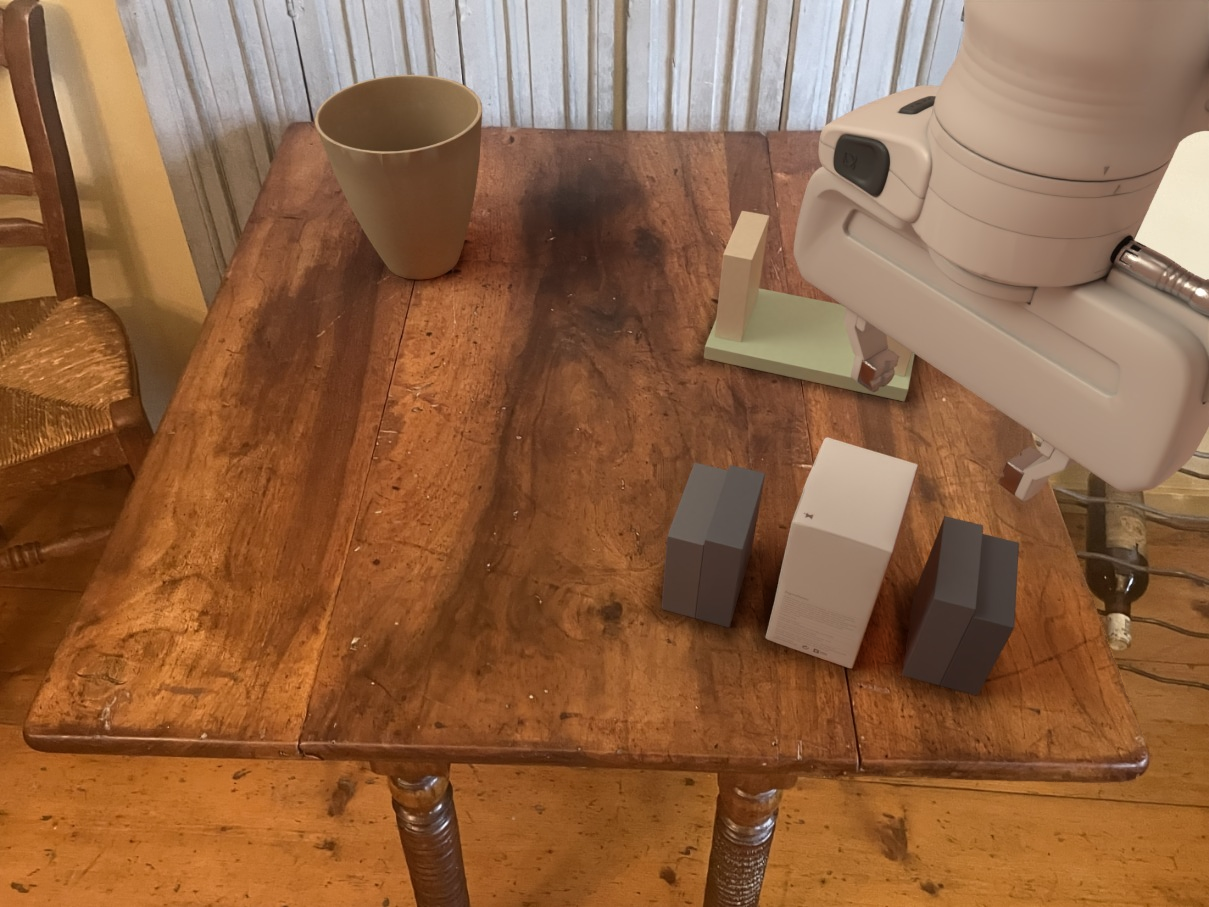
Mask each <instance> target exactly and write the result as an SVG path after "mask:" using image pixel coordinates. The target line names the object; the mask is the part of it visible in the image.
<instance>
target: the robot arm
mask: <svg viewBox="0 0 1209 907" xmlns="http://www.w3.org/2000/svg"><path fill="white" fill-rule="evenodd" d="M963 14H964V16H963V17H964V19H963V20H964V21H963V31H962V37H961V41H960V44H959V49H958V50H957V54H956V56H955V57H954V60H953V62H952V64H951V65H950V67H949V68H948V70H947V71H946V73H945V75H944V77H943V79H942V81H941V82H940V84H939V85H933V84H932V85H928V84H923V85H917V86H914V87H909V88H907V89H903V90H900V91H897V92H894V93H892V94H891V93H890V94H889V95H886V96H883V97H880V98H878V99H875V100H873V101H871V102H868V103H866V104H864V105H861V106H859V107H857V108H855V109H853V110H851V111H848V112H847V113H845V114H843V115H841V116H839V117H837V118H836V119H834V120H832V121H830V122H829V123H827V124H825V125H824V126H823V128H822V129H821V132H820V134H819V141H818V150H817V151H818V152H817V154H818V155H817V156H818V160H819V162H820V165H821V166H820V167H819V168H817V169H816V170H815V171H814V172H813V174H812V175H811V177H809V180H808V182H807V185H806V188H805V191H804V194H803V197H802V201H801V205H800V210H799V213H798V218H797V223H796V227H795V234H794V240H793V250H792V252H793V253H792V254H793V258H794V262H795V264H796V266H797V269H798V272H799V274H800V276H801V277H802V279H803V280H804V281H805V282H806V283H808V284H810V285H812V287H814V288H816V289H818V290H819V291H821V292H822V293H823V294H824V295H826V296H828V297H829V298H831V299H832V300H834V301H835V302H837V304H841V305H843V306H844V307H846V311H845V316H844V323H845V326H846V329H847V333H848V336H849V340H850V343H851V346H852V350H853V353H854V354H855V359H854V363H853V367H852V371H851V378H852V379H854V380H855V381H857V382H858V383H859V384H861V385H862V386H864V387H865V388H867V389H868V390H869V391H871V392H876V391H878V389H879V387H884V386H886V385H887V384H889V382H890V381H891V380H892V379H893V377H894V374H895V371H894V367H896V366H897V364H898V360H899V356H898V355H897V354H896V353H894V352H893V351H891V350H890V349H889V348H888V343H887V337H886V335H887V336H889V337H890V338H892V339H893V340H895V341H896V342H898V343H899V344H901V345H902V346H904V347H905V348H907V349H908V350H910V351H911V352H913V353H914V354H915V356H916V357H919V358H920V359H922V360H923V361H925V362H926V363H928V364H929V365H931V366H932V367H934V368H935V369H936V370H938V371H939V372H941V373H943V375H945V376H947V377H949V378H950V379H951V380H952V381H955V382H956V383H958V384H959V385H960V386H962V387H964V388H965V389H967V390H968V391H969V392H971V393H972V394H973V395H975V396H976V397H978V398H980V399H981V400H983V401H984V402H986V403H987V404H988V405H990V406H992V407H993V408H994V409H996V410H998V411H999V412H1001V413H1002V414H1004V415H1005V416H1006V417H1008V418H1010V419H1011V420H1013V421H1014V422H1016V424H1019V425H1020V426H1022V427H1023V428H1024V429H1026V430H1028V431H1029V432H1030V433H1032V434H1033V435H1035V436H1036V437H1038V438H1039V439H1041V440H1042V442H1041V444H1040V446H1039V449H1037V448H1036V447H1034V446H1032V445H1031V444H1030V445H1028V446H1027V447H1026V448H1024V449H1023V450H1021V452H1020V453H1019V455H1018V454H1017V455H1014V456H1013V457H1011V458H1010V459H1009V460H1007V461H1006V464H1005V465H1004V468H1003V470H1002V473H1003V475H1001V476H1000V477H999V479H998V481H997V484H999V485H1000V486H1001V487H1002V488H1004V489H1005V490H1006V491H1008V492H1009V493H1010V494H1012V495H1014V496H1015V497H1016V498H1017V499H1019V500H1020V501H1022V502H1023V503H1026V502H1027V501H1028V500H1030V499H1032V498H1033V497H1034V496H1036V495H1037V494H1038V493H1039V492H1041V490H1042V489H1043V488H1044V487H1045V486H1046V484H1047V483H1048V481H1049V479H1050V477H1051V476H1052V475H1055V474H1058V473H1061V472H1065V470H1067V469H1068V468H1070V467H1071V466H1072V465H1073V464H1075V463H1076V464H1078V465H1079V466H1081V467H1083V468H1084V469H1086V470H1087V471H1089V473H1091V474H1092V475H1094V476H1096V477H1097V478H1099V479H1101V480H1102V481H1103V482H1105V483H1106V484H1107V485H1110V486H1111V487H1112V488H1114V489H1116V490H1117V491H1119V492H1121V493H1124V494H1133V493H1140V492H1145V491H1150V490H1154V489H1156V488H1158V487H1159V486H1161V485H1162V484H1164V483H1165V482H1166V481H1168V479H1170V478H1171V477H1172V476H1174V475H1175V474H1176V473H1177V472H1178V471H1179V470H1180V469H1182V468H1183V467H1185V465H1186V464H1187V463H1188V462H1189V461H1190V460H1191V459H1192V457H1194V454H1195V453H1196V452H1197V450H1198V449H1199V447H1200V445H1201V444H1202V441H1203V439H1204V438H1205V435H1206V434H1207V431H1208V429H1209V278H1207V279H1205V278H1203V277H1201V276H1199V275H1196V274H1195V273H1193V272H1191V271H1189V270H1188V269H1186V268H1185V267H1182V265H1180V264H1179V263H1178V262H1176V261H1175V260H1173V259H1171V258H1170V257H1167V256H1166V255H1164V254H1162V253H1161V252H1158V251H1157V250H1154V249H1153V248H1151V247H1149V246H1147V245H1145V244H1143V243H1141V242H1139V241H1137V240H1135V239H1136V237H1137V235H1138V233H1139V231H1140V229H1141V227H1142V224H1143V222H1144V220H1145V218H1146V215H1148V211H1149V209H1150V207H1151V205H1152V202H1153V200H1154V199H1155V196H1156V194H1157V192H1158V189H1159V188H1160V185H1161V183H1162V181H1163V179H1164V177H1165V175H1166V172H1167V170H1168V168H1169V166H1170V164H1171V162H1172V160H1173V158H1174V156H1175V153H1176V151H1177V149H1178V147H1179V144H1180V143H1181V142H1182V141H1183V140H1184V139H1186V138H1188V137H1189V136H1192V135H1194V134H1196V133H1200V132H1201V133H1202V132H1209V0H963Z"/></svg>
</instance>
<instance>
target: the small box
mask: <svg viewBox="0 0 1209 907" xmlns="http://www.w3.org/2000/svg"><path fill="white" fill-rule="evenodd" d="M918 469H919V465H918V464H917V463H916V462H912V461H908V460H905V459H901V458H898V457H894V456H891V455H889V454H888V455H887V454H885V453H882V452H878V451H875V450H871V449H868V448H864V447H861V446H857V445H854V444H851V443H849V442H845V441H841V440H838V439H834V438H832V437H828V436H826V437H825V438H824V439H823V441H822V443H821V445H820V448H819V449H818V452H817V455H816V457H815V460H814V462H813V464H812V467H811V469H810V471H809V474H808V476H807V478H806V481H805V484H804V486H803V488H802V492H801V493H802V494H800V495H801V496H800V498H799V501H798V503H797V506H796V509H795V511H794V514H793V517H792V519H791V520H792V521H791V524H790V528H789V533H788V537H787V540H786V541H787V542H786V545H785V550H784V555H783V558H782V564H781V569H780V573H779V576H778V582H777V583H778V584H777V588H776V592H775V596H774V602H773V606H772V610H771V614H770V619H769V622H768V625H767V630H766V634H765V639H766V640H767V641H769V642H773V643H776V644H778V645H781V646H784V647H787V648H789V649H792V650H796V651H798V652H801V653H803V654H807V655H810V656H813V657H815V658H819V659H822V660H824V661H827V662H830V663H833V664H836V665H839V666H841V667H844V668H847V669H853V668H854V666H855V663H856V661H857V657H858V655H859V652H860V649H861V646H862V644H863V639H864V637H865V634H866V632H867V628H868V625H869V623H870V620H871V617H872V614H873V611H874V608H875V605H876V602H877V601H878V600H877V599H878V597H879V594H880V592H881V588H882V585H883V583H884V579H885V577H886V574H887V572H888V569H889V566H890V564H891V561H892V558H893V555H894V553H895V550H896V547H897V543H898V541H899V540H898V539H899V536H900V533H901V530H902V526H903V524H904V519H905V516H906V512H907V509H908V505H909V503H910V502H909V501H910V499H911V498H910V497H911V495H912V491H913V486H914V484H915V481H916V476H917V473H918Z"/></svg>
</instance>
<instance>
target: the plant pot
mask: <svg viewBox="0 0 1209 907" xmlns="http://www.w3.org/2000/svg"><path fill="white" fill-rule="evenodd" d="M314 124H315V128H316V130H317V133H318V135H319V138H320V141H321V143H322V147H323V149H324V151H325V154H326V156H327V159H328V161H329V164H330V166H331V168H332V172H333V174H334V176H335V178H336V180H337V183H338V185H339V187H340V189H341V191H342V193H343V195H344V197H345V199H346V202H347V204H348V205H349V207H350V209H351V211H352V213H353V214H354V216H355V218H356V220H357V222H358V224H359V225H360V227H361V229H362V230H363V232H364V234H365V236H366V237H367V239H368V241H369V242H370V243H371V245H372V247H373V248H374V250H375V252H377V254H378V256H379V257H380V258H381V260H382V261H383V263H384V264H385V266H386V267H387V268H388V270H389V271H390V272H391V273H392V274H394V275H396V276H398V277H400V278H404V279H407V280H408V279H409V280H417V281H418V280H430V279H435V278H438V277H441V276H442V275H445V274H446V273H448V272H450V271H451V270H452V269H454V267H455V266H456V265H457V264H458V262H459V260H460V257H461V255H462V254H461V253H462V250H463V247H464V244H465V241H466V236H467V234H468V229H469V225H470V221H471V216H472V212H473V207H474V202H475V196H476V190H477V184H478V175H479V168H480V157H481V156H480V155H481V147H482V146H481V145H482V143H481V142H482V125H483V103H482V101H481V99H480V97H479V95H477V94H476V92H475V91H473V90H472V89H471V88H469V87H468V86H467V85H465V84H464V83H463V84H462V83H460V82H458V81H456V80H453V79H448V78H445V77H440V76H435V75H434V76H433V75H425V74H396V75H395V74H394V75H387V76H381V77H375V78H371V79H367V80H366V79H365V80H362V81H360V82H357V83H354V84H352V85H349V86H346V87H344V88H342V89H340V90H339V91H336V92H335V93H333V94H332V95H331V96H329V97H327V98H326V100H324V101H323V102H322V103H321V105H320V106H319V107H318V109H317V111H316V113H315V116H314Z"/></svg>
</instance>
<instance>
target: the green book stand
mask: <svg viewBox="0 0 1209 907" xmlns="http://www.w3.org/2000/svg"><path fill="white" fill-rule="evenodd" d="M769 221H770V215H768V214H763V213H758V212H757V213H756V212H751V211H747V210H741V212H740V214H739V216H738V219H737V222H736V223H735V226H734V228H733V230H732V233H731V236H730V238H729V240H728V241H727V242H728V243H727V245H726V247H725V249H724V252H723V254H722V263H721V272H720V281H719V290H718V300H717V310H716V317H715V321H714V322H713V326H712V328H711V330H710V333H709V335H708V338H707V340H706V343H705V345H704V351H703V352H704V353H703V359H704V360H710V361H714V362H718V363H719V362H720V363H723V364H728V365H732V366H736V367H741V368H742V367H743V368H746V369H750V370H754V371H755V370H756V371H759V372H764V373H769V374H774V375H779V376H783V377H788V378H793V379H797V380H802V381H807V382H812V383H816V384H821V385H826V386H830V387H835V388H839V389H842V390H843V389H844V390H849V391H853V392H857V393H862V394H865V395H872V396H876V397H881V398H886V399H890V400H895V401H900V402H902V403H903V402H906V398H907V396H908V392H909V388H910V383H911V377H912V372H913V366H914V360H915V356H916V354H914V353H913V352H911V351H910V350H908V349H907V348H905V347H904V346H902V345H901V344H899V343H898V342H896V341H895V340H893V339H892V338H890V337H889V336H887V335H886V337H887V343H888V348H889V349H890V350H891V351H893V352H894V353H896V354H897V355H898V356H899V360H898V364H897V366H896V367H894V371H895V374H894V377H893V379H892V380H891V381H890V382H889V384H887V385H886V386H884V387H879V389H878V391H876V392H871V391H869V390H868V389H867V388H865V387H864V386H862V385H861V384H859V383H858V382H857V381H855V380H854V379H852V378H851V371H852V367H853V363H854V359H855V354H854V353H853V350H852V346H851V343H850V340H849V336H848V333H847V329H846V326H845V323H844V316H845V311H846V307H844V306H843V305H841V304H840V303H836V302H831V301H826V300H820V299H815V298H811V297H805V296H800V295H795V294H791V293H785V292H781V291H777V290H776V291H775V290H771V289H770V290H769V289H765V288H760V286H761V278H762V270H763V264H764V258H765V250H766V244H767V243H766V242H767V236H768V229H769V223H770V222H769Z"/></svg>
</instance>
